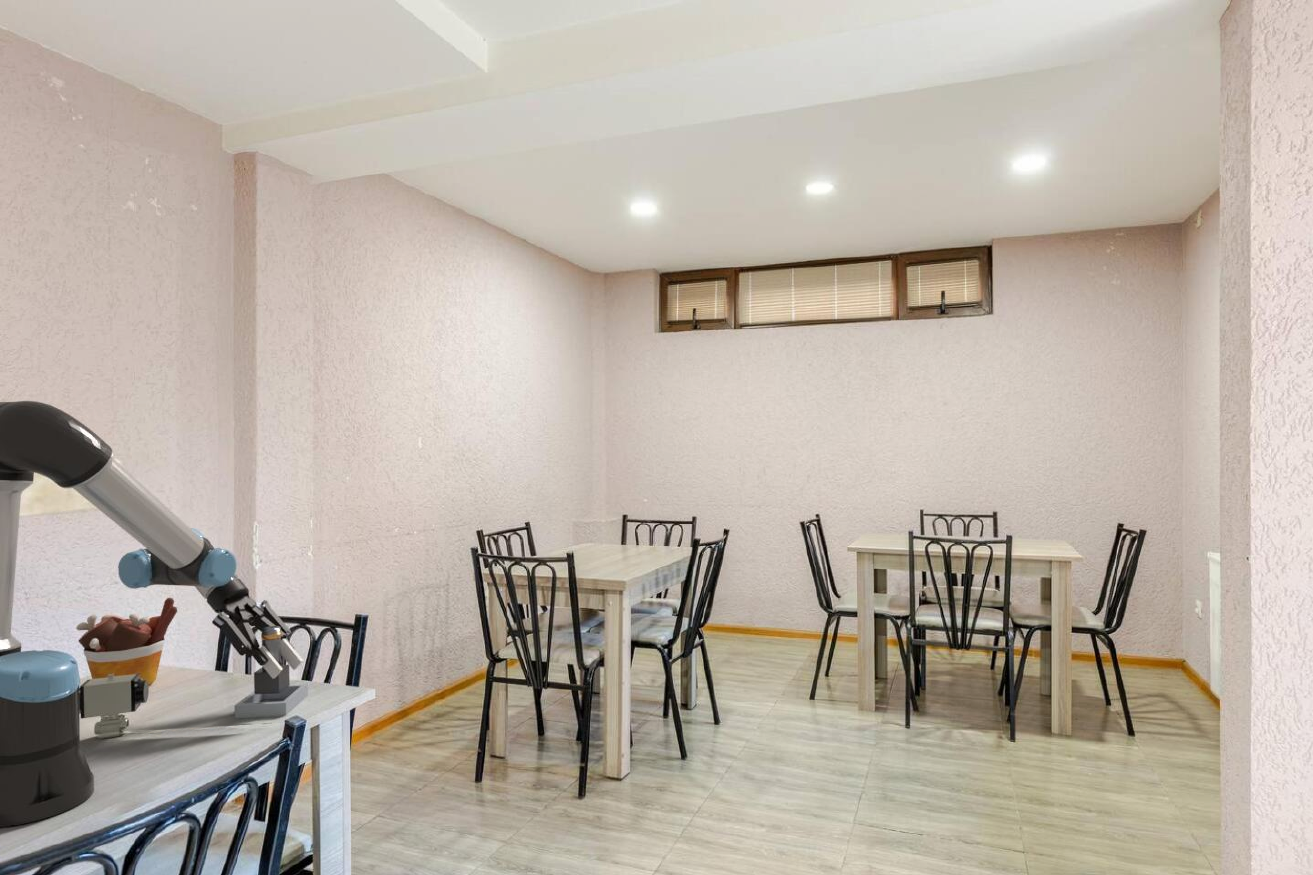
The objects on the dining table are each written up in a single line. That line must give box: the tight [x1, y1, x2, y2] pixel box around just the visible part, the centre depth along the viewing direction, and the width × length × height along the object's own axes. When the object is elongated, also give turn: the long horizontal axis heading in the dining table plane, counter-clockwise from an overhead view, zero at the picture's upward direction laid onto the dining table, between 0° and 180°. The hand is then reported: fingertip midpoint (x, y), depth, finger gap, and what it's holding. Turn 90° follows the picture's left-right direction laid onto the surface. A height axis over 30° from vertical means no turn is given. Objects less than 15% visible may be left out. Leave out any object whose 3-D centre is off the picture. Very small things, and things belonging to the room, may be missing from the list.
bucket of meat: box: [76, 597, 178, 686], centre depth 181 cm, size 20×16×20 cm
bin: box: [234, 683, 309, 726], centre depth 161 cm, size 12×10×4 cm
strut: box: [253, 626, 291, 694], centre depth 161 cm, size 5×5×13 cm
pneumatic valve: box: [79, 674, 150, 740], centre depth 151 cm, size 6×12×12 cm, turn 112°
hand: (288, 669), depth 160 cm, fingers closed on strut, 5 cm apart
